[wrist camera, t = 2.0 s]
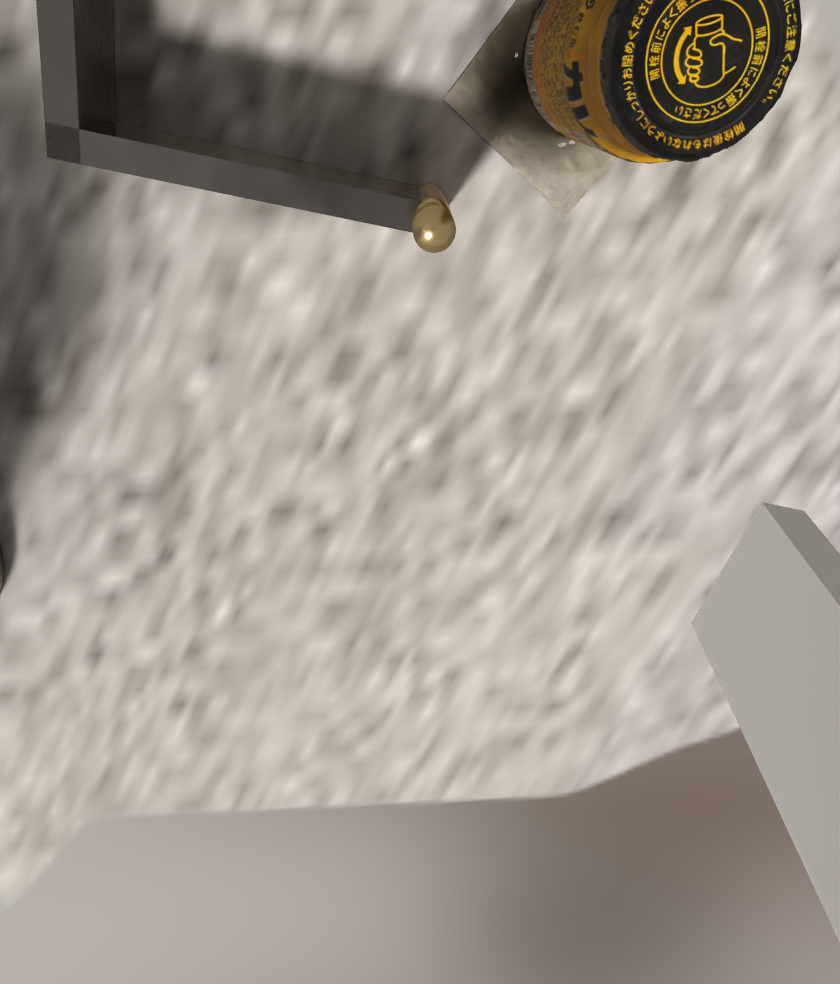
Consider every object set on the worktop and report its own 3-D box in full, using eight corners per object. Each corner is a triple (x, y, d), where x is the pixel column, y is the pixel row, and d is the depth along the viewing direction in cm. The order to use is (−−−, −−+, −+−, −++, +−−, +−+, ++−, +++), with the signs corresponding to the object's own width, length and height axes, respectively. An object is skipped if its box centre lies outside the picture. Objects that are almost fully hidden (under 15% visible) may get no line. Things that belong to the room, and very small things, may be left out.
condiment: (712, 47, 28) (891, 36, 18) (563, 216, 32) (642, 288, 21) (591, -103, 26) (720, -214, 15) (443, 99, 29) (467, 117, 19)
